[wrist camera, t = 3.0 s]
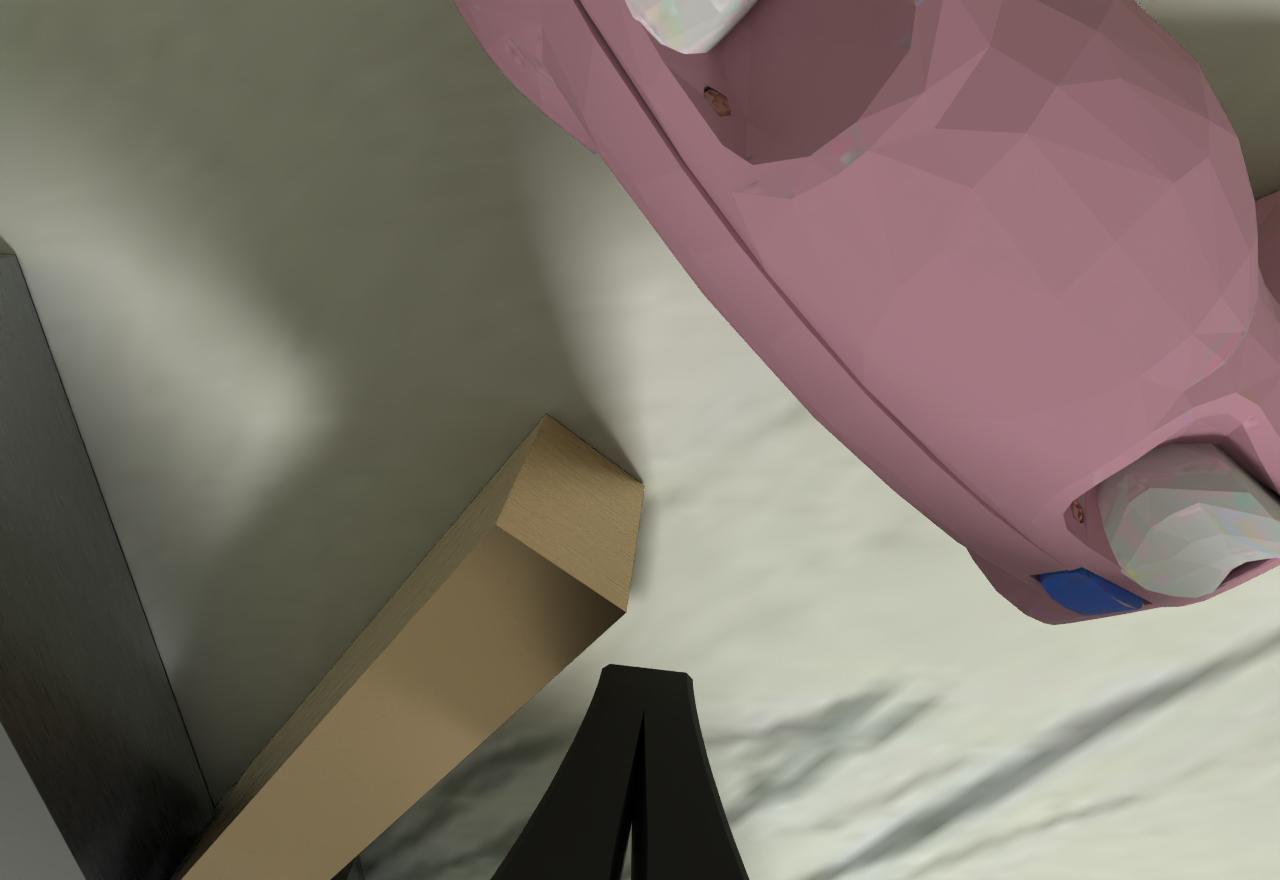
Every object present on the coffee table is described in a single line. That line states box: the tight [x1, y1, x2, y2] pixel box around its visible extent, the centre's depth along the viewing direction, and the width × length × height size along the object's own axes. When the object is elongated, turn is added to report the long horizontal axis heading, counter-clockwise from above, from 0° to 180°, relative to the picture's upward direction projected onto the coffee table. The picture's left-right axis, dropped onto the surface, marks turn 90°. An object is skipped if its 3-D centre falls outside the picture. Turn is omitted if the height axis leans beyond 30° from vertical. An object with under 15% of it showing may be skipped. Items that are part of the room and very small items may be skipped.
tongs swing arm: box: [170, 414, 645, 880], centre depth 13 cm, size 14×2×3 cm, turn 141°
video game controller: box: [454, 0, 1280, 625], centre depth 6 cm, size 10×5×7 cm, turn 46°
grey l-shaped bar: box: [0, 254, 363, 880], centre depth 13 cm, size 19×6×4 cm, turn 176°
